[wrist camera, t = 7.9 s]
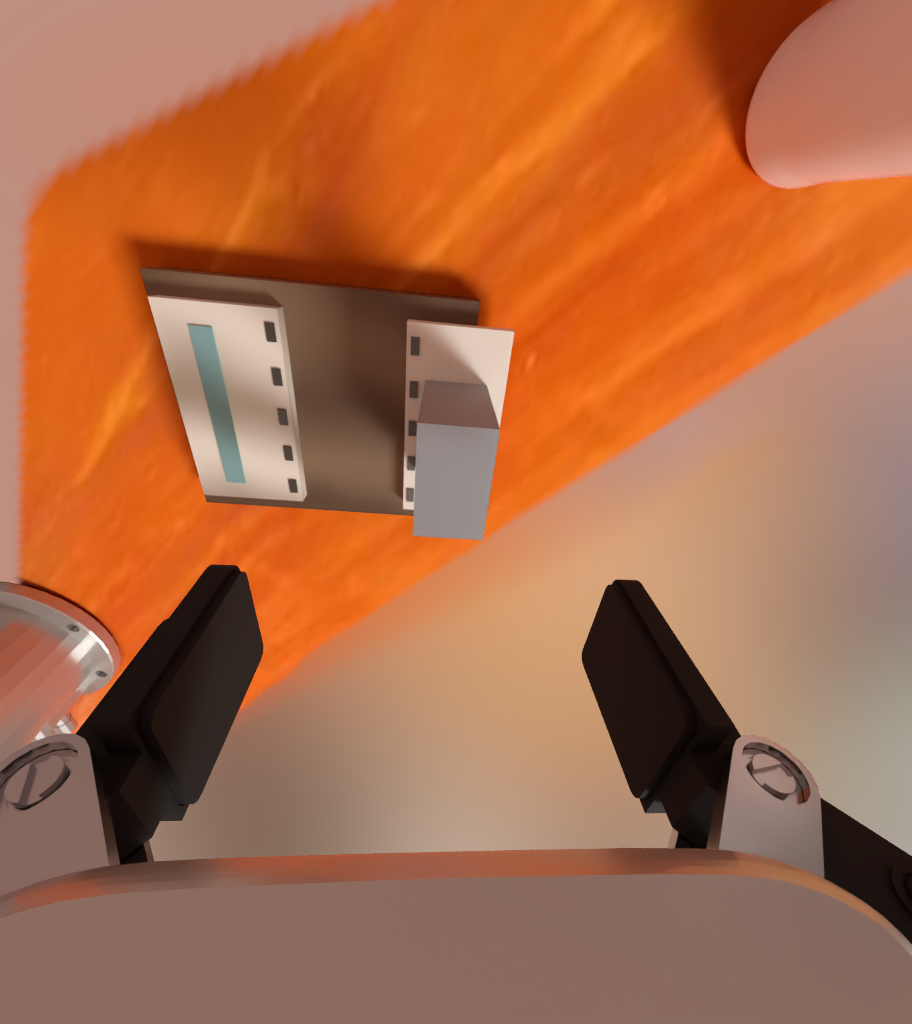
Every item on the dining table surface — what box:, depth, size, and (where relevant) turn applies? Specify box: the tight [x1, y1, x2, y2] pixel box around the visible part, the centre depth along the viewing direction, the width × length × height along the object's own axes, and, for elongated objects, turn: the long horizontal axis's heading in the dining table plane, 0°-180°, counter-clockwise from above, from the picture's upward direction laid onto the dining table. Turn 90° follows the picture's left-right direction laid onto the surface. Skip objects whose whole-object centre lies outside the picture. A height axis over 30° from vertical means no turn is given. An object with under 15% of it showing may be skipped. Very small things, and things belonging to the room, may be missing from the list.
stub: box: [403, 319, 514, 540], centre depth 19 cm, size 10×5×7 cm, turn 175°
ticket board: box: [140, 267, 479, 516], centre depth 21 cm, size 12×15×2 cm
